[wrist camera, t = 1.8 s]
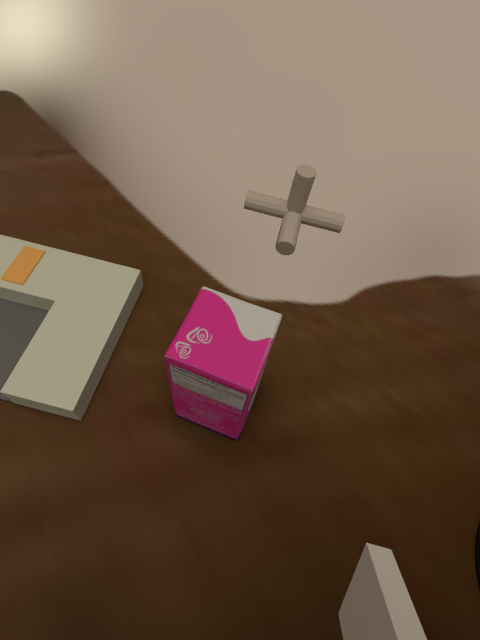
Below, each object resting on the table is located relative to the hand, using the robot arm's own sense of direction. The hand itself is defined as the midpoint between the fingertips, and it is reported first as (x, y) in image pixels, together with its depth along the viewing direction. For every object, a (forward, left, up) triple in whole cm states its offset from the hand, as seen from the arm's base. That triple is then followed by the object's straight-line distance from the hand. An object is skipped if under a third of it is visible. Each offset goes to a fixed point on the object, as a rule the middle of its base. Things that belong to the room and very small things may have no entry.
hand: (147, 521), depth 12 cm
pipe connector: (+27, -13, -18) cm, 35 cm away
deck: (+19, +14, -18) cm, 30 cm away
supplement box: (+10, -4, -18) cm, 21 cm away
